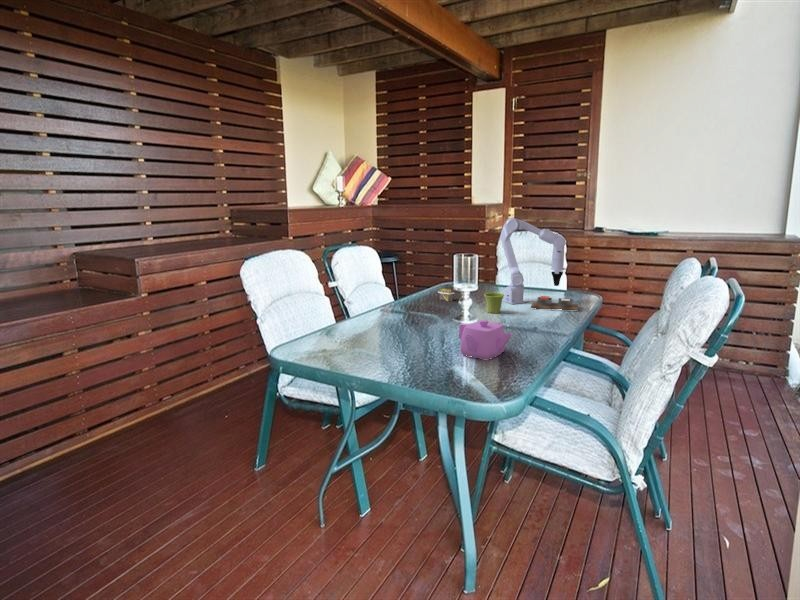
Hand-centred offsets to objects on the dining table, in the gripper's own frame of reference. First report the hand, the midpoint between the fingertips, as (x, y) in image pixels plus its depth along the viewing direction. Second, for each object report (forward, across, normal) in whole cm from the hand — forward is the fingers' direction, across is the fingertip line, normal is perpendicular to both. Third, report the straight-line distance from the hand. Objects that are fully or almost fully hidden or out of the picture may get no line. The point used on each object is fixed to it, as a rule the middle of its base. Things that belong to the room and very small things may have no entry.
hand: (556, 285), depth 260 cm
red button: (+7, -11, +5) cm, 14 cm away
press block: (+9, -11, 0) cm, 15 cm away
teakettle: (+10, -95, +21) cm, 98 cm away
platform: (+10, -10, +57) cm, 58 cm away
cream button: (+8, -11, -5) cm, 15 cm away
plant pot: (+10, -29, +28) cm, 41 cm away
